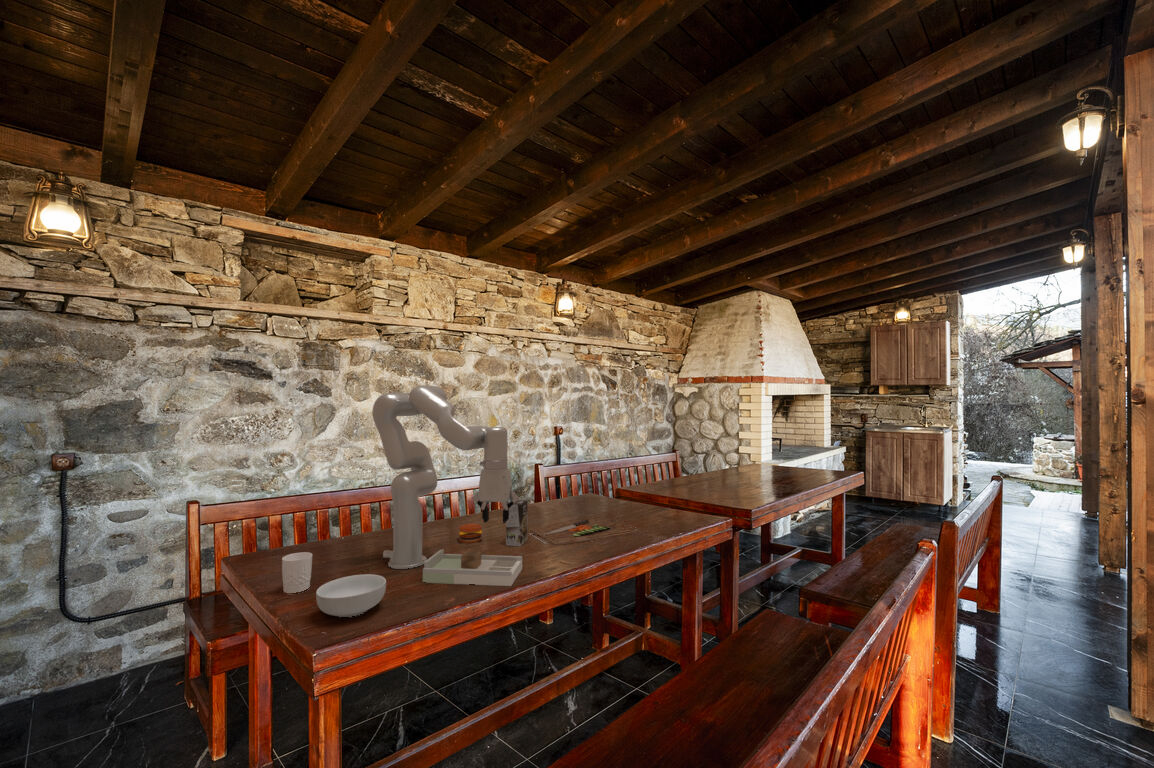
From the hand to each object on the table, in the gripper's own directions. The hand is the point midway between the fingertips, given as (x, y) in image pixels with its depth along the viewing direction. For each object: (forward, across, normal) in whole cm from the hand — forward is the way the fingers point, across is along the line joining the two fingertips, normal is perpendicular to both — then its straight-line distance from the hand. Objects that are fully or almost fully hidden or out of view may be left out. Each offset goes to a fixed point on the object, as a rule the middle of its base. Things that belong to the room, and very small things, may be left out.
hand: (495, 521), depth 153 cm
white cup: (+18, -56, -17) cm, 61 cm away
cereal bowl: (+18, -31, -29) cm, 46 cm away
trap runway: (+18, -7, 0) cm, 19 cm away
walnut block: (+15, -8, 0) cm, 17 cm away
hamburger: (+18, -22, +39) cm, 48 cm away
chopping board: (+18, +23, +56) cm, 63 cm away
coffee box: (+18, -2, +37) cm, 41 cm away
